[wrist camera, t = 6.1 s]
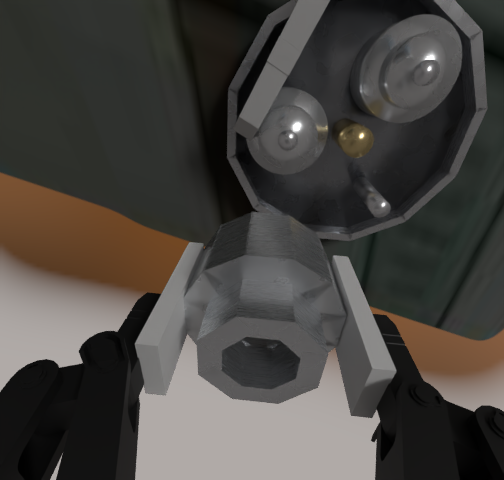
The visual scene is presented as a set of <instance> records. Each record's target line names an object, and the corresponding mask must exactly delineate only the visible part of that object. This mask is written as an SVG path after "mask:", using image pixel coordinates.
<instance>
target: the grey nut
mask: <svg viewBox="0 0 504 480" xmlns="http://www.w3.org/2000/svg"><path fill="white" fill-rule="evenodd" d="M183 300H184V312H185V325H186V333H187V334H188V335H189V336H190V338H192V340H193V341H194V342H195V344H196V345H197V356H198V375H200V376H201V377H203V378H204V379H205V380H207V381H208V382H210V383H211V384H212V385H214V386H215V387H217V388H218V389H219V390H221V391H222V392H223V393H225V394H226V395H228V396H229V397H230V398H232V399H240V400H250V401H259V402H267V403H276V404H279V403H281V402H284V401H286V400H289V399H291V398H293V397H296V396H298V395H301V394H303V393H306V392H308V391H310V390H313V389H315V388H318V386H319V381H320V379H321V376H322V373H323V370H324V366H325V363H326V360H327V357H328V352H330V351H331V350H332V349H333V348H335V347H337V343H338V340H339V337H340V334H341V331H342V328H343V325H344V322H345V319H346V317H347V315H346V312H345V309H344V305H343V302H342V299H341V296H340V293H339V290H338V287H337V284H336V280H335V277H334V274H333V271H332V268H331V265H330V262H329V260H328V258H327V255H326V253H325V251H324V248H323V246H322V243H321V241H320V239H319V235H318V234H316V233H315V232H314V231H312V230H311V229H309V228H308V227H306V226H305V225H303V224H302V223H300V222H299V221H297V220H296V219H294V218H293V217H291V216H290V215H282V214H271V213H260V212H251V213H249V214H246V215H244V216H241V217H239V218H237V219H234V220H232V221H230V222H227V223H225V224H223V225H220V227H219V229H218V230H217V231H216V233H215V234H214V236H213V237H212V239H211V240H210V241H209V243H208V244H207V246H206V247H205V249H204V251H203V253H202V256H201V258H200V261H199V263H198V265H197V268H196V270H195V272H194V275H193V277H192V279H191V282H190V284H189V286H188V289H187V291H186V293H185V296H184V298H183Z"/></svg>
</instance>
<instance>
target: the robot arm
mask: <svg viewBox="0 0 504 480" xmlns="http://www.w3.org/2000/svg"><path fill="white" fill-rule="evenodd" d="M203 247H204V246H203V243H192V242H189V244H188V246H187V247H186V249H185V251H184V253H183V255H182V257H181V259H180V261H179V263H178V264H177V266H176V268H175V270H174V272H173V274H172V275H171V277H170V279H169V281H168V283H167V285H166V287H165V288H164V290H163V292H162V294H156V293H146V294H145V295H143V296H142V297H141V298H140V299H138V301H137V302H136V303H135V305H134V307H133V308H132V311H130V313H129V315H128V316H127V319H125V321H124V323H123V324H122V326H121V327H120V329H119V330H118V332H115V331H105V332H101V333H98V334H96V335H94V336H92V337H90V338H89V339H88V340H87V341H85V342H84V344H82V346H81V348H80V350H79V353H80V356H81V359H82V361H83V363H82V364H78V365H72V366H67V367H62V368H59V367H58V364H56V363H55V362H54V361H52V360H47V359H45V360H39V361H36V362H33V363H30V364H28V365H26V366H25V367H23V368H22V369H21V370H19V371H18V372H17V373H16V374H15V375H14V376H13V377H12V378H11V379H10V380H9V381H8V383H7V384H6V385H5V387H4V388H3V389H2V390H1V392H0V480H50V478H51V476H52V474H53V472H54V470H55V468H56V466H57V464H58V462H59V459H60V457H61V455H62V453H63V455H62V459H61V463H60V466H59V470H58V474H57V478H56V480H135V471H136V456H137V440H138V425H139V409H140V402H139V394H140V392H141V390H142V388H143V385H144V388H145V393H148V394H157V395H166V393H167V390H168V387H169V384H170V381H171V379H172V375H173V373H174V370H175V367H176V364H177V361H178V358H179V355H180V353H181V350H182V347H183V344H184V341H185V339H186V336H187V333H186V325H185V312H184V300H183V298H184V296H185V293H186V291H187V289H188V286H189V284H190V282H191V279H192V277H193V275H194V272H195V270H196V268H197V265H198V263H199V261H200V258H201V256H202V253H203V251H204V248H203ZM331 268H332V271H333V274H334V277H335V280H336V284H337V287H338V290H339V293H340V296H341V299H342V302H343V305H344V309H345V312H346V315H347V317H346V319H345V322H344V325H343V328H342V331H341V334H340V337H339V340H338V343H337V347H335V348H336V352H337V357H338V361H339V365H340V369H341V374H342V378H343V383H344V387H345V391H346V395H347V400H348V404H349V408H350V413H351V416H359V417H368V418H372V417H373V415H374V413H375V411H376V410H377V411H378V414H379V417H380V423H379V425H378V426H377V428H376V430H375V432H374V434H373V436H372V439H371V441H372V442H375V440H376V439H377V448H376V475H375V476H376V477H375V480H504V412H503V411H502V410H500V409H498V408H495V407H492V406H481V407H479V408H478V409H476V410H475V412H473V411H470V410H468V409H466V408H463V407H460V406H458V405H455V404H453V403H450V402H448V401H446V400H444V399H443V397H442V396H441V395H440V393H439V392H438V391H437V390H436V389H435V388H434V387H433V386H431V385H430V384H428V383H426V382H425V381H423V379H422V377H421V375H420V373H419V371H418V369H417V367H416V365H415V363H414V361H413V359H412V357H411V355H410V353H409V351H408V349H407V347H406V346H405V343H404V341H403V339H402V337H400V334H399V332H398V329H397V327H396V325H395V324H394V323H393V322H392V321H391V320H390V319H389V318H388V317H387V316H386V315H378V314H372V312H371V310H370V307H369V305H368V303H367V300H366V298H365V296H364V293H363V291H362V289H361V286H360V284H359V282H358V279H357V277H356V275H355V272H354V270H353V268H352V265H351V263H350V261H349V258H348V257H345V256H334V255H333V259H332V263H331Z"/></svg>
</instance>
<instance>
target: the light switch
mask: <svg viewBox="0 0 504 480" xmlns="http://www.w3.org/2000/svg"><path fill="white" fill-rule="evenodd" d="M329 2H330V0H298V1H297V3H296V5H295V7H294V9H293V11H292V13H291V15H290V17H289V19H288V21H287V23H286V25H285V27H284V29H283V31H282V33H281V35H280V36H279V38H278V40H277V42H276V44H275V46H274V48H273V50H272V52H271V54H270V55H269V57H268V59H267V62H266V64H265V66H264V68H263V70H262V72H261V74H260V76H259V78H258V80H257V82H256V84H255V86H254V88H253V90H252V92H251V94H250V96H249V98H248V100H247V101H246V103H245V105H244V107H243V109H242V111H241V113H240V115H239V117H238V120H237V122H236V124H235V126H234V128H233V130H234V131H236V132H237V133H239V134H241V135H242V136H244V137H246V138H247V139H249V140H250V141H251V140H252V139H253V137H254V135H255V134H256V132H257V131H258V129H259V127H260V125H261V124H262V122H263V120H264V118H265V116H266V115H267V113H268V111H269V109H270V107H271V106H272V104H273V102H274V100H275V98H276V97H277V95H278V93H279V91H280V90H281V88H282V86H283V84H284V82H285V81H286V79H287V77H288V76H289V74H290V72H291V70H292V69H293V67H294V65H295V63H296V61H297V60H298V58H299V56H300V54H301V52H302V50H303V48H304V46H305V45H306V43H307V41H308V39H309V37H310V36H311V34H312V32H313V30H314V28H315V27H316V25H317V23H318V21H319V20H320V18H321V16H322V14H323V12H324V11H325V9H326V7H327V5H328V3H329Z"/></svg>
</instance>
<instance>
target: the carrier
mask: <svg viewBox="0 0 504 480" xmlns="http://www.w3.org/2000/svg"><path fill="white" fill-rule="evenodd" d="M297 1H298V0H291V1H289V2H288V3H286V4H285V5H283V6H282V7H280V8H278V9H277V10H275V11H274V12H272V13H271V14H269V15H268V16H267V18H266V20H265V22H264V23H263V25H262V27H261V29H260V31H259V33H258V34H257V36H256V38H255V40H254V42H253V44H252V46H251V47H250V49H249V51H248V53H247V55H246V57H245V58H244V60H243V62H242V64H241V66H240V68H239V70H238V71H237V73H236V75H235V77H234V79H233V81H232V83H231V84H230V86H229V88H228V129H227V159H228V161H229V163H230V164H231V166H232V168H233V170H234V172H235V174H236V176H237V178H238V180H239V181H240V183H241V185H242V187H243V189H244V191H245V193H246V195H247V197H248V199H249V200H250V202H251V204H252V206H253V208H254V209H255V210H257V211H259V212H260V213H271V214H282V215H290V216H291V217H293V218H294V219H296V220H297V221H299V222H300V223H302V224H303V225H305V226H306V227H308V228H309V229H311V230H312V231H314V232H315V233H316V234H318V235H319V238H322V239H333V240H345V241H352V240H354V239H357V238H360V237H363V236H366V235H369V234H371V233H374V232H377V231H380V230H383V229H386V228H389V227H391V226H394V225H397V224H400V223H403V222H406V221H407V220H408V219H409V218H410V217H411V216H412V215H414V214H415V213H416V212H417V211H418V210H419V209H420V208H421V207H422V206H424V205H425V204H426V203H427V202H428V201H429V200H430V199H431V198H433V197H434V196H435V195H436V194H437V193H438V192H439V191H440V190H441V189H443V188H444V187H445V186H446V185H447V184H448V183H449V182H450V181H451V180H453V179H454V178H455V177H456V175H457V173H458V171H459V169H460V167H461V164H462V162H463V160H464V158H465V156H466V154H467V151H468V149H469V147H470V145H471V143H472V141H473V138H474V136H475V134H476V132H477V130H478V128H479V125H480V123H481V121H482V119H483V117H484V115H485V112H486V110H487V96H486V80H485V65H484V50H483V35H482V30H481V28H480V27H479V26H478V25H477V24H476V23H475V22H474V21H473V20H472V19H471V18H470V16H469V15H468V14H467V13H466V12H465V11H464V10H463V9H462V8H461V7H460V5H459V4H458V3H457V2H456V1H455V0H330V2H329V3H328V5H327V7H326V9H325V11H324V12H323V14H322V16H321V18H320V20H319V21H318V23H317V25H316V27H315V28H314V30H313V32H312V34H311V36H310V37H309V39H308V41H307V43H306V45H305V46H304V48H303V50H302V52H301V54H300V56H299V58H298V60H297V61H296V63H295V65H294V67H293V69H292V70H291V72H290V74H289V76H288V77H287V79H286V81H285V82H284V84H283V86H282V88H281V90H280V91H279V93H278V95H277V97H276V98H275V100H274V102H273V104H272V106H271V107H270V109H269V111H268V113H267V115H266V116H265V118H264V120H263V122H262V124H261V125H260V127H259V129H258V131H257V132H256V134H255V135H254V137H253V139H252V140H251V141H250V140H249V139H247V138H246V137H244V136H242V135H241V134H239V133H237V132H236V131H234V130H233V128H234V126H235V124H236V122H237V120H238V117H239V115H240V113H241V111H242V109H243V107H244V105H245V103H246V101H247V100H248V98H249V96H250V94H251V92H252V90H253V88H254V86H255V84H256V82H257V80H258V78H259V76H260V74H261V72H262V70H263V68H264V66H265V64H266V62H267V59H268V57H269V55H270V54H271V52H272V50H273V48H274V46H275V44H276V42H277V40H278V38H279V36H280V35H281V33H282V31H283V29H284V27H285V25H286V23H287V21H288V19H289V17H290V15H291V13H292V11H293V9H294V7H295V5H296V3H297Z"/></svg>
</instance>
